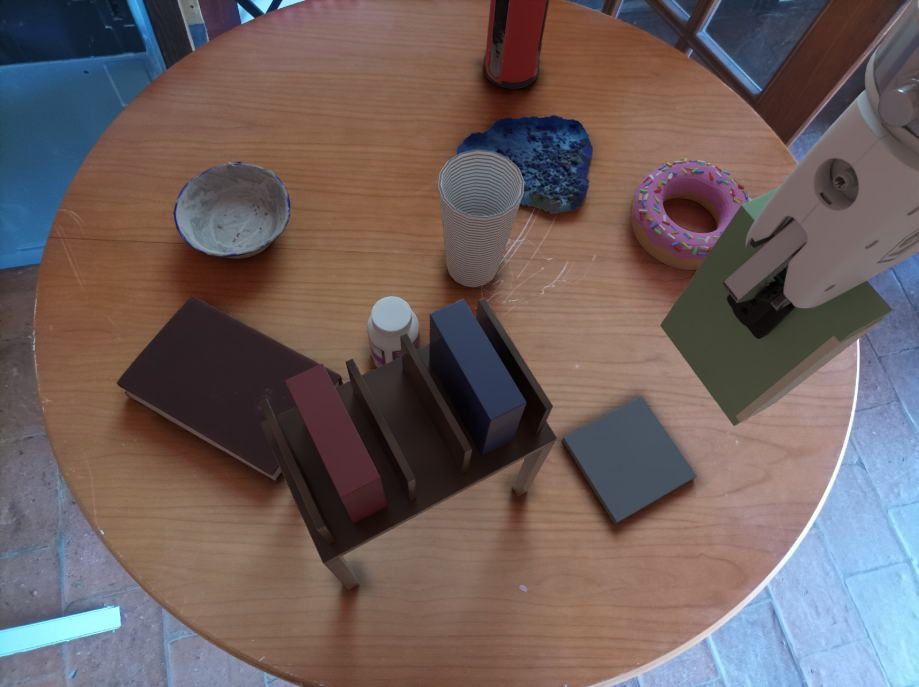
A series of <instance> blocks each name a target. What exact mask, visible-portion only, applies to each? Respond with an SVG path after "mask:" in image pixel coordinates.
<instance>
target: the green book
mask: <svg viewBox="0 0 919 687" xmlns="http://www.w3.org/2000/svg"><path fill="white" fill-rule="evenodd" d="M779 187H780V186H778V187H776V188H773V189H772V190H770V191H767V192H766V193H764V194H761V195H759V196H757V197H755V198H753V199H751V201H749V202H747V203H745V204H743V205H741V206H740V208H739V209H738V211H737V212H736V214H735V215H734V217H733V218H732V220H731V221H730V223H729V224H728V226H727V227H726V228H725V230H724V231H723V233H722V234H721V236H720V237H719V239H718V240H717V242H716V243H715V245H714V246H713V248H712V249H711V251H710V252H709V254H708V255H707V257H706V258H705V260H704V261H703V263H702V264H701V265H700V267H699V268H698V270H695V273H694V274H693V275H692V277H691V278H690V280H689V281H688V283H687V284H686V286H685V287H684V289H683V291H682V292H681V293H680V295H679V297H678V298H677V300H675V303H674V304H673V305H672V307H671V308H670V310H669V312H668V313H667V314H666V316H665V317H664V318H663V320H662V322H661V323H660V324H659V326H660V328H661V329H662V331H664V333H665V334H666V336H667V337H668V338H669V340H670V341H671V343H672V344H673V345H674V347H675V348H676V349H677V351H678V352H679V353H680V354H681V356H682V358H683V359H684V360H685V362H686V363H687V365H688V366H689V367H690V368H691V370H692V371H693V373H694V374H695V375H696V377H697V378H698V380H699V381H700V382H701V384H702V385H703V387H704V388H705V389H706V390H707V392H708V393H709V394H710V395H711V397H712V399H713V400H714V401H715V402H716V404H717V405H718V406H719V408H720V409H721V411H722V412H723V414H724V415H725V416H726V418H727V419H728V420H729V421H730V423H731V424H732V426H733V427H736V426H738V425H739V424H741V423H743V422H746V421H747V420H749V419H750V418H752V417H754V416H756V415H758V414H759V413H761V412H763V411H765V410H767V409H768V408H770V407H772V406H774V405H775V404H776V403H777V402H779V401H780V400H781V399H782V398H784V397H785V396H786V395H787V394H789V393H790V392H791V391H793V390H794V389H795V388H797V387H798V386H799V385H801V384H802V383H803V382H805V380H807V379H808V378H810V377H812V375H814V374H815V373H816V372H818V371H819V370H820V369H822V368H823V367H824V366H825V365H827V364H828V363H829V362H831V361H832V360H833V359H835V358H836V357H837V356H838V355H840V354H841V353H842V352H844V351H845V350H846V349H848V348H850V346H851V345H853V344H854V343H855V342H857V341H858V340H859V339H860V338H862V337H863V336H864V335H866V334H867V333H868V332H869V331H871V330H873V328H875V327H876V326H878V325H879V324H880V323H881V322H883V318H885V317H886V316H887V315H889V314H890V313H892V312H893V308H892V307H891V306H890V305H889V303H887V301H886V300H885V299H884V298H883V297H882V296H881V295H880V294H879V292H878V291H877V290H876V288H874V287H873V286H872V284H870V283H869V280H867V281H865V282H863V283H861V284H860V285H858V286H856V287H854V288H852V289H850V290H848V291H846V292H844V293H843V294H841V295H839V296H837V297H835V298H833V299H831V300H829V301H827V302H825V303H823V304H821V305H819V306H816V307H813V308H798V307H795V308H794V309H793V310H792V311H791V312H790V313H789V314H788V315H787V316H786V317H785V318H784V319H783V320H782V321H781V322H780V323H779V324H778V325H777V326H776V327H775V328H774V329H773V330H772V331H771V332H770V333H769V334H768V335H766V336H764V337H763V338H761V339H757V338H755V337H754V335H753V334H752V333H751V332H750V330H749V329H748V328H747V327H746V326H745V325H743V324H742V323H741V322H740V321H739V320H738V319H737V317H736V316H735V315H734V313H733V310H732V308H731V306H730V305H729V304H728V302H727V296H728V295H729V292H728V291H727V290H726V289H725V287H724V286H723V285H722V284H723V282H724V281H725V280H726V279H727V278H728V277H729V276H730V275H732V274H733V273H734V272H735V271H736V270H737V269H738V268H740V267H741V266H742V265H743V264H744V263H745V262H746V261H747V260H749V259H750V258H751V257H752V256H753V255H754V254H755V253H756V252H758V251H759V250H760V249H761V248H762V247H763V246H764V245H765V244H767V243H768V242H767V243H765V244H763V245H761V246H759V247H757V248H755V249H753V248H746V237H747V234H748V232H749V229H750V228H751V226H752V224H753V222H754V221H755V219H756V218H757V216H758V215H759V213H760V212H761V210H762V209H763V208H764V206H765V205H766V203H767V202H768V201H769V199H770V198H771V197H772V196H773V194H774V193H775V192H776V190H777V189H778V188H779ZM778 274H779V275H780V276H781V277H782V279H783V280H784V281H785V278H786V274H787V271H786V270H785V269H783V270H782V271H781V272H779V273H778Z"/></svg>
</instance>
